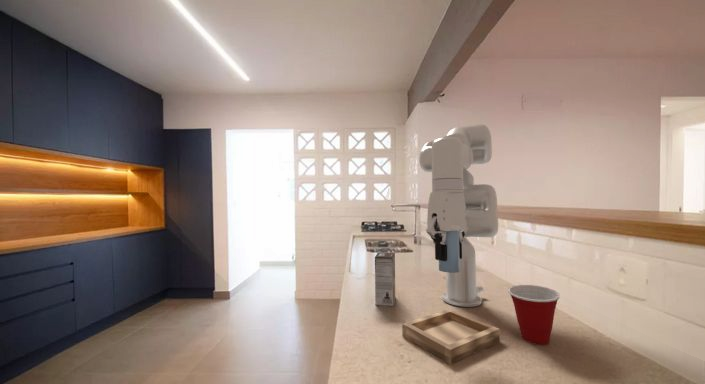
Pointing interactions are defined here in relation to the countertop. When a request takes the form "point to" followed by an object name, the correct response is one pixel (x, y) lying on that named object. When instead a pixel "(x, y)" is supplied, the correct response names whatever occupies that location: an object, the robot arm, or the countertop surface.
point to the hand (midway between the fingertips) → (448, 258)
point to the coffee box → (385, 278)
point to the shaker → (451, 251)
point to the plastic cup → (534, 311)
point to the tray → (450, 335)
